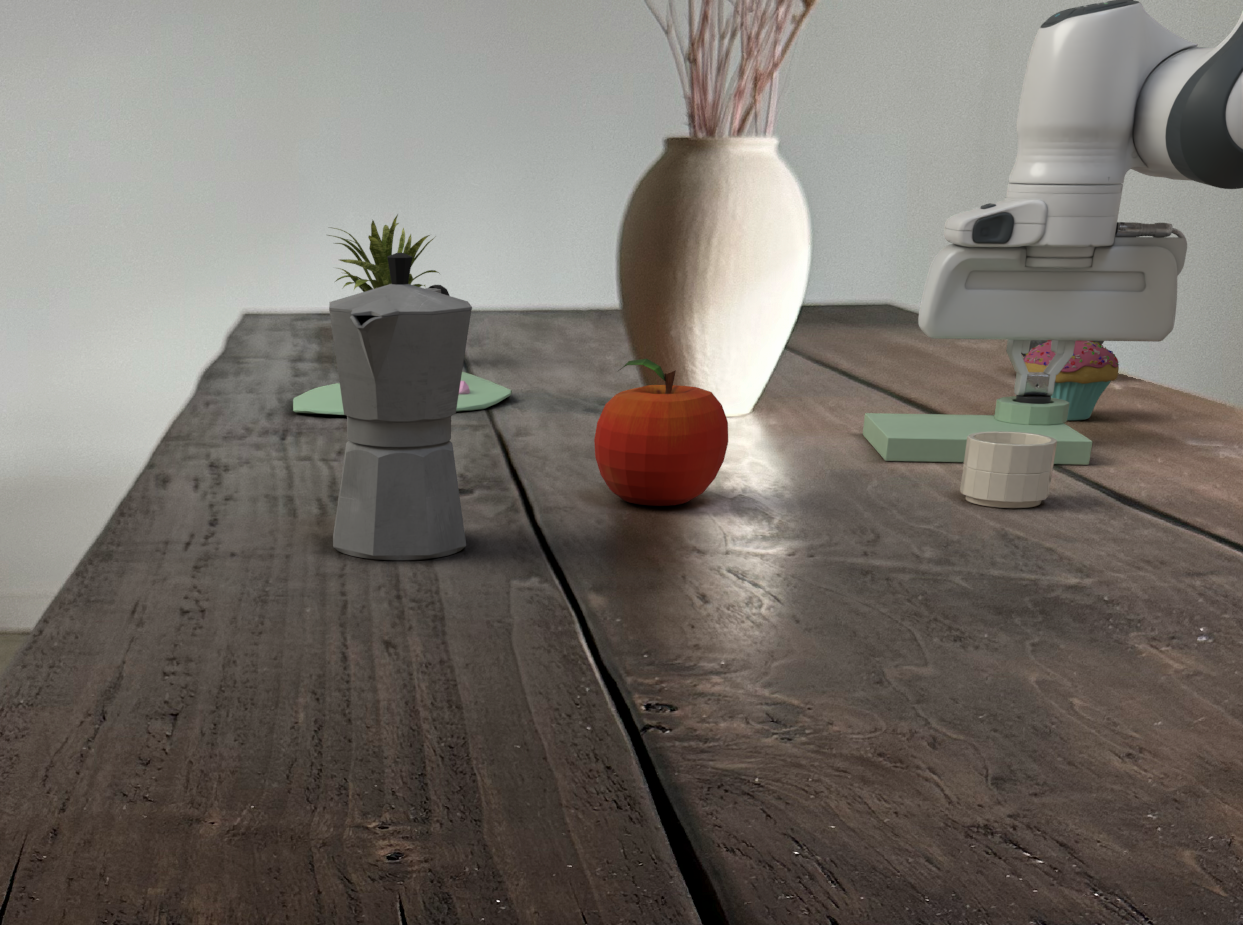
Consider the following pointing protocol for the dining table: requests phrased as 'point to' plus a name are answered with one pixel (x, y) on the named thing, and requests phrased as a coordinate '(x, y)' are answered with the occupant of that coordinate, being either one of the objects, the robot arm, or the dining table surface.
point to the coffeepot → (399, 418)
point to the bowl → (1007, 469)
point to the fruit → (661, 441)
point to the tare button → (1033, 399)
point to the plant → (470, 397)
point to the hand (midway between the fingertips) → (1033, 395)
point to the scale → (949, 432)
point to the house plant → (380, 257)
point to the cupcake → (1078, 374)
